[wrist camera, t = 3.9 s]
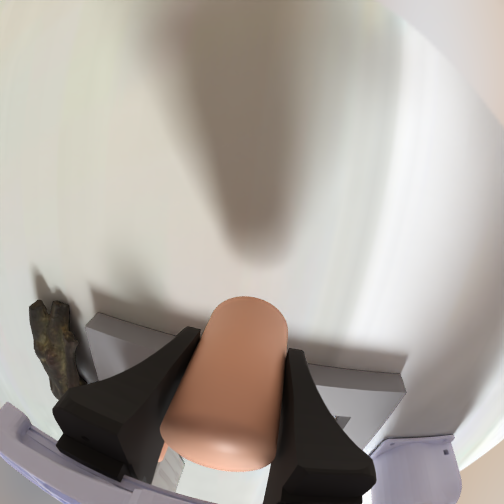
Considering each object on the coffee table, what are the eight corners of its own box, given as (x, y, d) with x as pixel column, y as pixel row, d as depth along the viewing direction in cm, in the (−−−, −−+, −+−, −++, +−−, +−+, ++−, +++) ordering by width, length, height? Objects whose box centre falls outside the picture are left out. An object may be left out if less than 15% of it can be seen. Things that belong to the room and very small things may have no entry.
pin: (295, 305, 14) (288, 429, 7) (279, 365, 15) (263, 478, 9) (213, 288, 14) (155, 398, 8) (207, 350, 16) (164, 455, 9)
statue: (55, 283, 24) (81, 426, 28) (13, 297, 19) (55, 447, 23) (97, 301, 23) (118, 449, 27) (51, 321, 18) (92, 475, 22)
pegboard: (400, 374, 19) (406, 392, 17) (346, 451, 24) (347, 466, 22) (98, 312, 21) (84, 326, 19) (118, 402, 26) (110, 415, 24)
